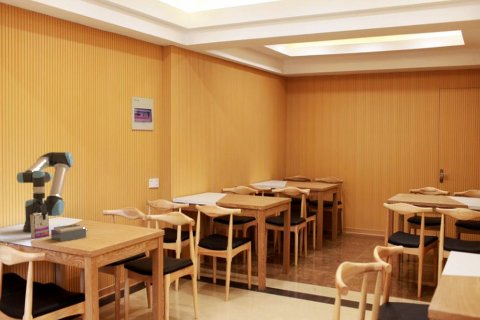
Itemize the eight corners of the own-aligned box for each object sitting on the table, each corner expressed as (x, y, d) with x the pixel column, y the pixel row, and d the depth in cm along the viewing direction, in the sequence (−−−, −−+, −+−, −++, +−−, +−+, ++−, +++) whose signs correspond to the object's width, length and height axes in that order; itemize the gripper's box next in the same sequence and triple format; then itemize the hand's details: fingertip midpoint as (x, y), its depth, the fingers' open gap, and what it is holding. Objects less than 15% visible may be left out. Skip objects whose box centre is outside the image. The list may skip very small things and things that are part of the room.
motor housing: (51, 238, 311) (51, 226, 311) (82, 233, 328) (82, 222, 328) (60, 241, 302) (60, 229, 301) (92, 236, 319) (92, 224, 318)
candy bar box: (44, 234, 323) (44, 211, 322) (49, 235, 320) (48, 212, 319) (30, 237, 313) (29, 214, 312) (34, 238, 311) (34, 214, 310)
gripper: (26, 191, 321) (26, 221, 322) (41, 194, 304) (41, 226, 305) (36, 190, 326) (37, 220, 327) (52, 193, 309) (52, 224, 310)
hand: (39, 223), depth 316 cm, fingers open, 13 cm apart
